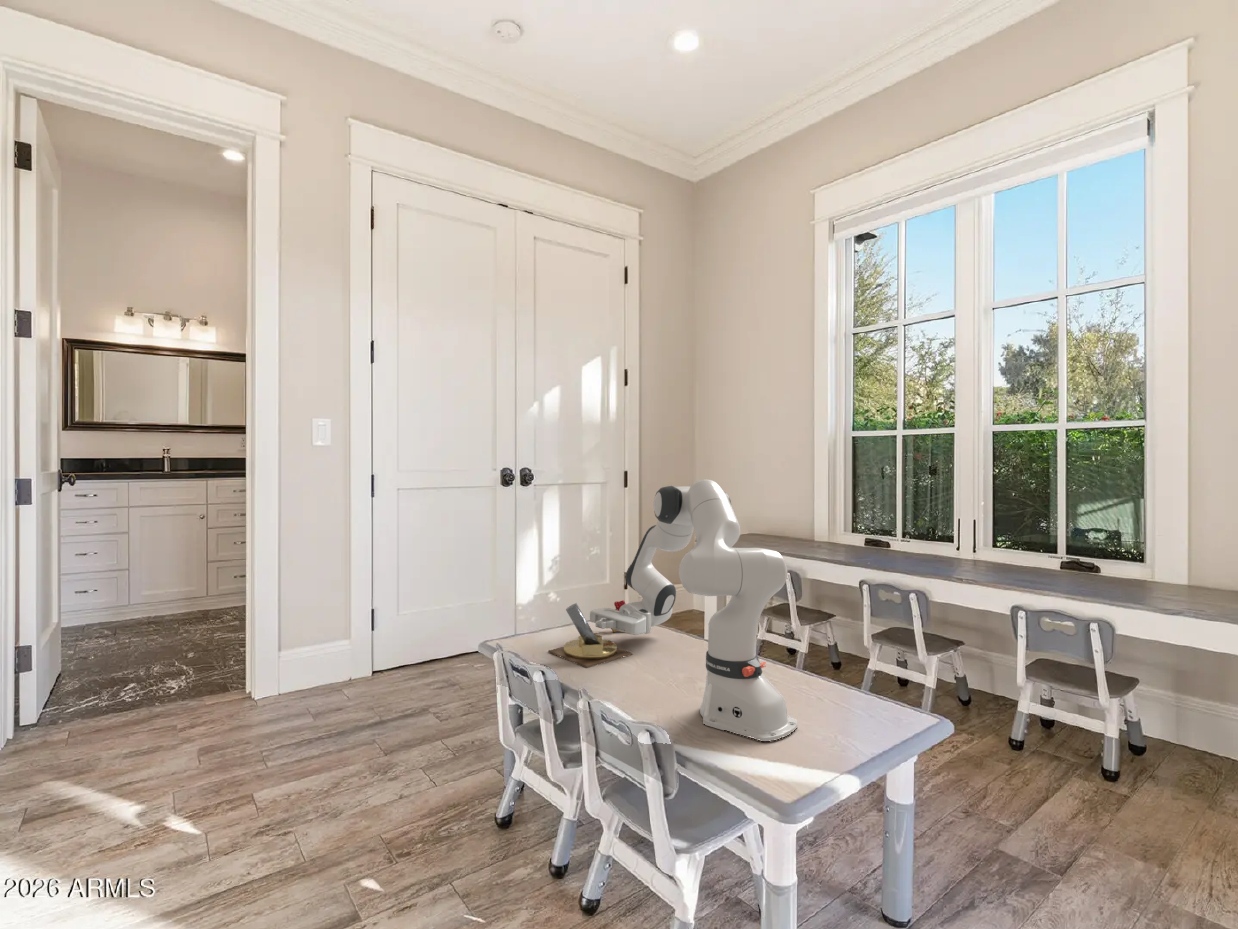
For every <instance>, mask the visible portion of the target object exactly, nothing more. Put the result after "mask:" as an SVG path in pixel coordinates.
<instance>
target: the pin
mask: <svg viewBox="0 0 1238 929" xmlns="http://www.w3.org/2000/svg"><path fill="white" fill-rule="evenodd" d="M565 611H566V612H567V614H568V616H569V618H570V620H571V622H572V623H573V625H574V627H575V628H576V630H577V632H578V634H579V636H581V637H582V639H583V641H584V642H585V644H586V645H595V644H599V642H598V640H597V638H596V637H595V635H594V632H593V630H592V629H591V626H590V624H589V622H588V621H587V619H586V618H585V616H584V614H583V612H582V611H581V609H580V607H579V605H578V603H577V602H576V603H573V604H571V605H569V606H568V607H567V608H566V609H565Z"/></svg>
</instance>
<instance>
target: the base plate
mask: <svg viewBox="0 0 1238 929" xmlns="http://www.w3.org/2000/svg"><path fill="white" fill-rule="evenodd" d="M548 652H550V653H549V654H551V653H552V654H551V655H553V654H554V656H556V655H557V657H558V656H561V657H563V658H565V659H564V660H566V659H567V661H568V660H570V661H569V662H572V663H573V662H575V663H574V664H576V663H577V665H578V664H579V665H578V666H582V667H584V668H585V669H587V668H591V667H594V666H598V665H602V664H605V663H608V662H611V661H614V660H615V661H616V660H618V658H619V659H622V658H624V657H623V656H626V657H628V656H632V655H633V652H631V651H629V650H626V649H624V648H620V647H618V646H617V652H616V654H615V655H613V656H611V657H608V658H603V659H593V660H587V659H577V658H573V657H570V656H568V655H566V654H565V653H564V646H560V647H556V648H553V649H549V650H548V651H547V653H548ZM561 657H560V658H561ZM621 657H622V658H621ZM563 658H562V659H563ZM604 662H605V663H604ZM601 663H602V664H601ZM597 664H598V665H597Z"/></svg>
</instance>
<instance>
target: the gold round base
mask: <svg viewBox="0 0 1238 929" xmlns="http://www.w3.org/2000/svg"><path fill="white" fill-rule="evenodd" d="M593 633H594V632H593ZM594 635H595V637H596V638H597V640H598V642H599V644H595V645H586V644H585V642H584V641H583V639H582V637H581V635H579V636H578V639H573V640H570V641H567V642H566V643H564V645H563V647H564V653H565V654H566V655H568V656H570V657H573V658H577V659H587V660H593V659H603V658H608V657H611V656H613V655H615V654H616V652H617V647H618V646H617V644H616V643H614V642H613V641H610V640H608V639H607V640H606V639H603V636H602V635H600V634H598V633H594Z"/></svg>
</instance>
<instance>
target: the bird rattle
mask: <svg viewBox="0 0 1238 929" xmlns="http://www.w3.org/2000/svg"><path fill="white" fill-rule="evenodd" d="M613 604H614V607H615V608H614V610H618V611H619V609H620V607H621V606H622V605H624V604H626V602H625V600H620V601H614V603H613ZM609 629H610V630H611V631H612V633H613V632H615V633H616V632H619V631H618V630H615V629H612V628H609Z"/></svg>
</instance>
